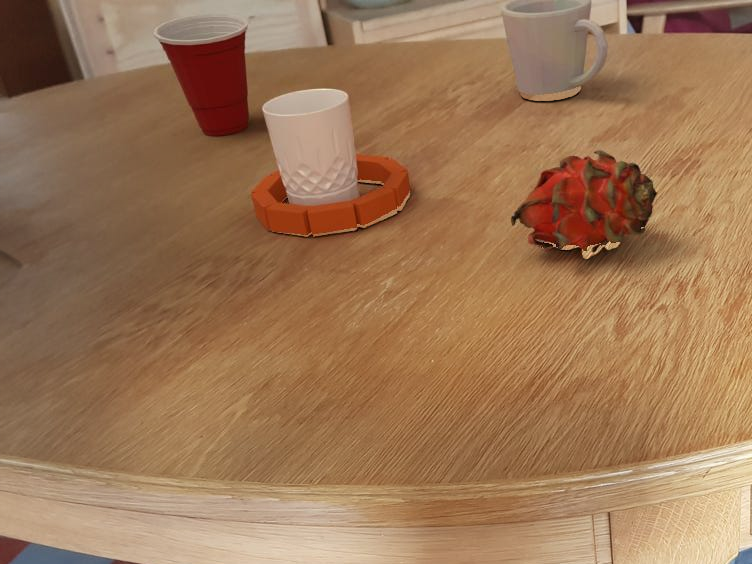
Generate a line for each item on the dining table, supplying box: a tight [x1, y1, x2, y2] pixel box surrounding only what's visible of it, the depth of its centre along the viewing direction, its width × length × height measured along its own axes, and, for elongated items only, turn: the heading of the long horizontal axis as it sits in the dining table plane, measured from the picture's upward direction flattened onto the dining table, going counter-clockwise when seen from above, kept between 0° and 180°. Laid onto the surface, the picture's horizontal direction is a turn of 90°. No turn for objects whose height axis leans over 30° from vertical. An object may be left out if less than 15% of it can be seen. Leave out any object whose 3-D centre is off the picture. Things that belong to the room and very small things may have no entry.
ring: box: [250, 153, 411, 236], centre depth 92 cm, size 15×15×2 cm
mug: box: [500, 0, 609, 95], centre depth 110 cm, size 10×15×10 cm
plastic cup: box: [152, 12, 250, 137], centre depth 112 cm, size 11×11×12 cm
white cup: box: [261, 88, 361, 206], centre depth 89 cm, size 8×8×10 cm
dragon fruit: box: [510, 149, 658, 251], centre depth 77 cm, size 8×8×12 cm
